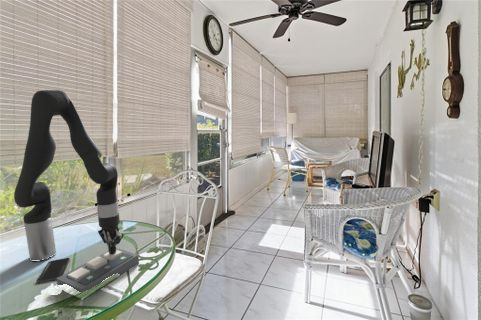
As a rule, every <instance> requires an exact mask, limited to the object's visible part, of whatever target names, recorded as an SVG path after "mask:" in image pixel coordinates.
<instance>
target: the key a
mask: <svg viewBox="0 0 481 320" xmlns="http://www.w3.org/2000/svg"><path fill="white" fill-rule="evenodd" d="M88 274H90V270H87V269H84V268H82V267H81V268H79V269H77V270H76V271H74V272H72V273H70V274H68V278H70V279H72V280H74V281H77V280H79V279H81V278H83V277H84V276H86V275H88Z"/></svg>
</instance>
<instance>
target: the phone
mask: <svg viewBox="0 0 481 320" xmlns="http://www.w3.org/2000/svg"><path fill="white" fill-rule="evenodd" d="M70 262H71V258H70V257H66V258H65V257H64V258H60V259H54V260H50V261H48V262H47V263H46V265H45V267H44V269H43V270H42V272H41V273H40V275H39V277H38V278H37V280H36V283H37V284H44V283H48V282H53V281H57V278H58V277H60V276H62V275H64V274H65V273H66V270H67V268H68V266H69V264H70Z"/></svg>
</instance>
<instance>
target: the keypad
mask: <svg viewBox="0 0 481 320" xmlns="http://www.w3.org/2000/svg"><path fill="white" fill-rule="evenodd" d="M116 250H118V251H121V252H122V255H121V256H119V257H118V258H116V259H114V260H112V261H110V260H107V264H105V265H104V266H102V267H100V268H98V269H97V270H92V269H90V268H87V264H86V263H87V262H84V263H83V264H80V266H77V267H76V268H73V269H72V270H70V271H68V272H65V273H64V274H63V275H62V276H60V277H58V278H57V280H56V284H57V286H58V285H63V284H67V285H69V286H71V287H73V288H74V289H76V290H77V291H79V292H83V291H86V290H89V289H91V288H92V287H94V286H96V285H98V284H100V283H101V282H102V281H103V280H105V279H106V278H108V277H110V276H112V275H113V274H116V273H118V274H120V276H119V277H121V276H122V275H123V274H125V273H127V272H128V271H130V270H131V269H133V268H134V267H136V266H138V265H139V264H140V260H139V258H140V257H139V254H137V253H135V252H131V251H127V250H124V249H121V248H118V247H116ZM107 252H109V250H107V251H105V252H104V253H102V254H100V255H98V256H99V257H102V258H103V255H104V254H106V253H107ZM81 267H82V268H84V269H87V270H90V274H88V275H86V276H84V277H83V278H81V279H79V280H77V281H74V280H72V279H70V278H68V274H70V273H72V272H74V271H76V270H77V269H79V268H81Z"/></svg>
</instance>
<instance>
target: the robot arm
mask: <svg viewBox="0 0 481 320" xmlns="http://www.w3.org/2000/svg"><path fill="white" fill-rule="evenodd" d="M54 116H55V117H56V116H60V117H61V118H62V119H63V120H64V121H65V124H66V125H67V127H68V130H69V137H70V142H71V143H70V144H71V145H72V148H73V149H74V151H75V152H76V153H77V155H78V156H79V158H80V159H81V160H82V162H83V165H84V167H85V170H86V173H87V174H88V177H89V179H91V181H92V182H93V183H95V184H98V185H99V187H98V189H97V191H96V193H95V194H96V195H95V196H96V204H97V205H96V206H97V207H96V208H97V209H96V211H97V219H98V226H99V227H100V228H101V229H99V230H97V233H98V234H99V237H100V238H101V240H102V242H103V243H104V244H106V246H107V249H108V250H107V251H109V254H112V255H113V254H114V253H116V248H117V245H118V244H120V243H121V241H122V239H123V238H124V234H125V233H121V232H120V229H119V224H120V222H121V221H120V209H119V204H118V198H117V197H118V196H117V187H118V180H119V179H118V176H119V175H118V169H117V167H116V166H115V165H114V164H112V163H110V162H107V163H103V162H102V160H101V157H102V156H103V155H102V154H103V153H102V152H101V150H100V149H99V147H98V146H97V144H96V143H95V141H94V140H93V139H92V137H91V136H90V134H89V132H88V130H87V129H86V127H85V125H84V123H83V121H82V119H81V117H80V114H79V113H78V111H77V109H76V106H75V105H74V102H73V100H72V99H71V97H70V96H69V95H68V94H67V92H65V91H63V90H60V89H59V90H57V89H55V90H54V89H53V90H51V89H49V90H48V89H46V90H37V91H36V92H35V93H34V94H33V96H32V97H31V104H30V122H29V130H28V134H27V135H28V136H27V142H26V144H25V151H24V155H23V156H24V157H23V162H22V167H21V170H20V174H19V177H18V180H17V182H16V186H15V188H14V193H13V194H14V195H13V197H14V202H15V204H16V206H17V207H18V208H24V209H25V208H29V207H33V208H32V209H30V210H29V211H28V212H27V213H25V214H24V215H23V224H24V225H23V226H24V229H25V230H24V232H25V237H26V243H27V248H28V255H29V260H30V259H31V260H42V259H47V258H48V257H50V256H52V255H54V254H55V253H56V254H57V250H56V249H57V248H56V243H55V235H54V229H53V228H54V227H53V221H52V214H51V213H52V209H53V208H52V199H51V196H52V195H51V190H50V187H49V186H48V184H47V183H46V182H44V181H37V180H38V179H39V177H41V176H42V174H44V173H45V172H46V170H47V169H48V168H49V167H50V166H51V165H52V163H53V161H54V158H55V154H56V149H57V144H56V142H55V139H54V137H53V135H52V133H51V130H50V128H51V122H52V119H53V117H54ZM56 254H55V255H56ZM55 255H54V256H55ZM47 260H48V259H47Z"/></svg>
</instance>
